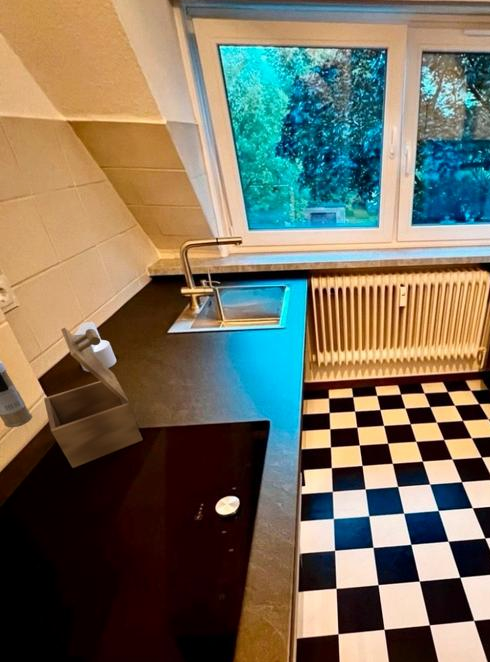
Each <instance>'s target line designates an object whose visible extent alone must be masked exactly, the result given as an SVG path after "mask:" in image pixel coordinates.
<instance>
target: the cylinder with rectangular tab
mask: <svg viewBox="0 0 490 662" xmlns="http://www.w3.org/2000/svg"><path fill="white" fill-rule="evenodd" d="M88 329H93V330H95V332H96V333H97V335H98V337H99V339H100V343H99V344H98V345H91V346H89V347H88V348H87V349H88V350H89V351H90V352H91V353H92V354H93V355H94V356H95V357H96V358H98V359H99V360H100V361H101V362H102V363H103V364H104V365H105V366H106V367H107V368H108V369H109V368H111V367H113V366H114V365H115V364H116V363H117V358H116V356H115V353H114V351H113V348H112V346H111V343H110V342H109V341H108V340H105V339H102V338H101V336H100V333H99V331H98V329H97V326H96V324H95V322H94V321H87V322H83V323H81V324H80V325H79V327H78V328H77V330H76V331H75V333H74V334H73V336H74V337H75V338H76V339H79V338H81V337H82V336H84V335H86V331H87V330H88ZM88 341H89V340H88V339H86V340H84V341H83V342H81V343H82V344H83V345H84V344H85V343H87V342H88ZM79 364H80V366H81V368H82V370H83V371H85V372H86V373H87V372H88V373H90V372H89V371H88V370H87V369H86V368H85V367H84V366H83V365H82V364H81V363H79Z"/></svg>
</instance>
